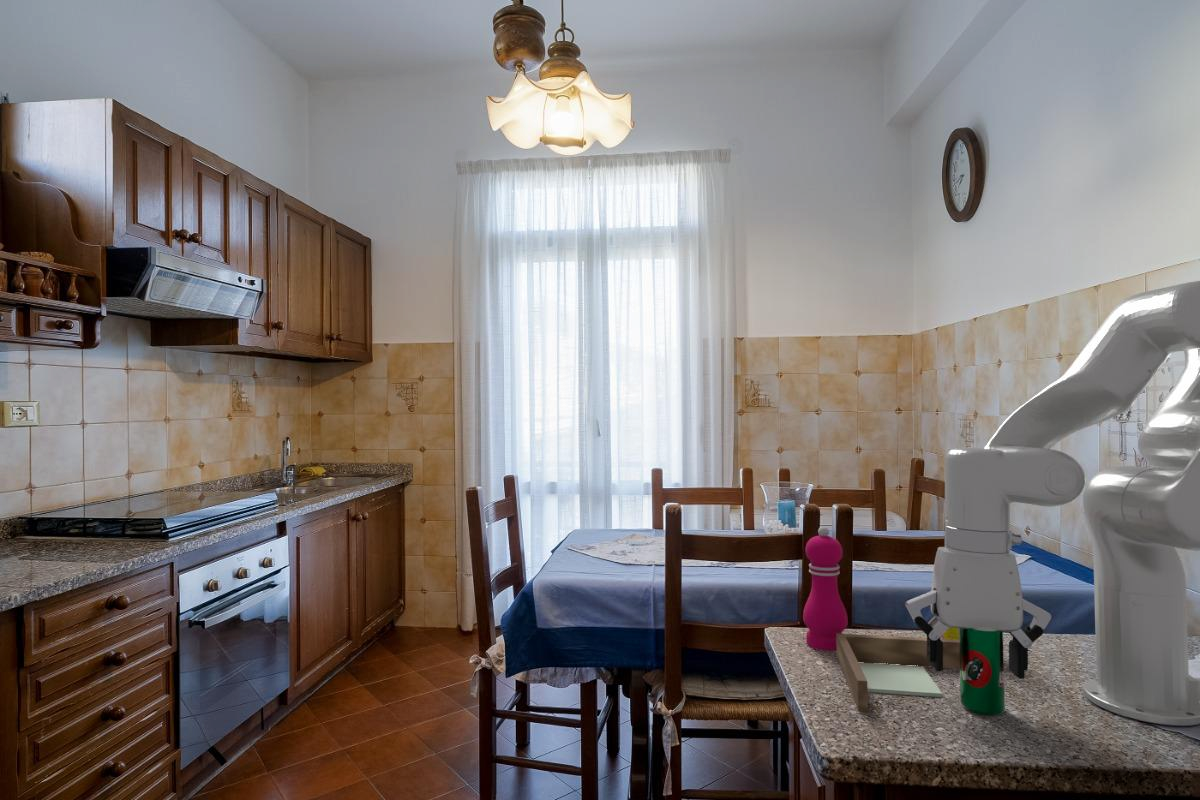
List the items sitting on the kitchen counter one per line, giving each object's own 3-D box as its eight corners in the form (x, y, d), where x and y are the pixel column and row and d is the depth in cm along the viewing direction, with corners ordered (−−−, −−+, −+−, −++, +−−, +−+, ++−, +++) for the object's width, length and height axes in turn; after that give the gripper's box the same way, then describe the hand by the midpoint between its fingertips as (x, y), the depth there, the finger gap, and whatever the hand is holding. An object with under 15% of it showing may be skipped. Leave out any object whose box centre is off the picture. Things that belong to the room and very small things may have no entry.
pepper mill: (796, 638, 115) (794, 523, 115) (836, 636, 116) (833, 522, 116) (814, 653, 108) (812, 530, 108) (856, 651, 108) (853, 529, 109)
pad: (922, 669, 100) (922, 666, 100) (942, 697, 90) (942, 693, 90) (853, 665, 102) (853, 662, 102) (865, 691, 92) (865, 688, 93)
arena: (970, 666, 101) (969, 640, 101) (1023, 723, 82) (1022, 691, 83) (836, 658, 105) (836, 633, 105) (858, 711, 86) (857, 680, 87)
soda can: (1011, 719, 84) (1009, 624, 84) (968, 716, 85) (965, 622, 85) (996, 702, 89) (993, 612, 89) (955, 699, 90) (953, 611, 90)
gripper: (1036, 539, 89) (1036, 667, 89) (899, 532, 93) (899, 655, 92) (1063, 550, 82) (1063, 689, 81) (913, 542, 85) (913, 675, 85)
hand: (976, 671), depth 87 cm, fingers open, 9 cm apart
